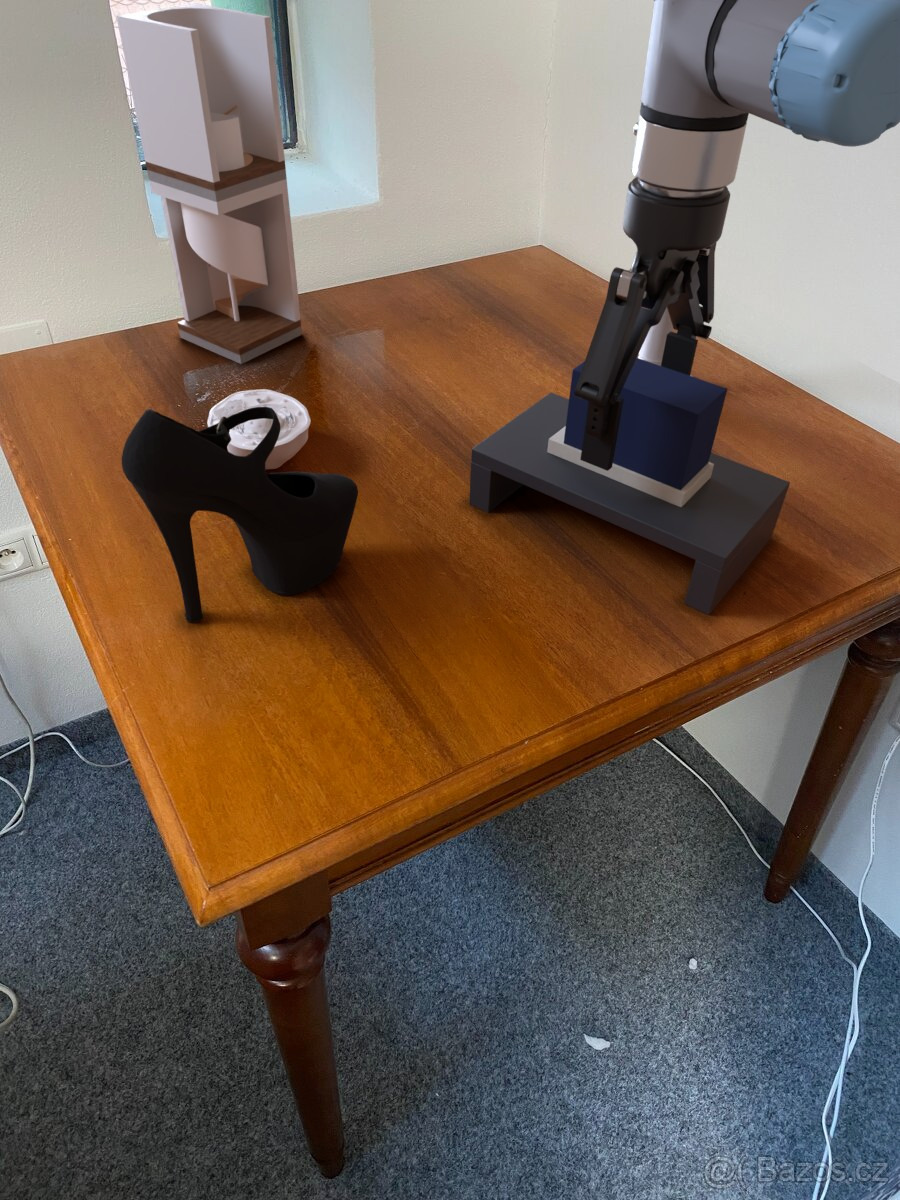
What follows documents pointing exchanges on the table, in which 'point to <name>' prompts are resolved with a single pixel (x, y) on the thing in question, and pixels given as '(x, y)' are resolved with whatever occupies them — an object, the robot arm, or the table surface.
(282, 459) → the cell model
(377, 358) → the table surface
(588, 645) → the table surface
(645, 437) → the navy block on base
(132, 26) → the white architectural model
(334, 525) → the high-heeled shoe
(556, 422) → the shoe shelf
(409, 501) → the table surface
